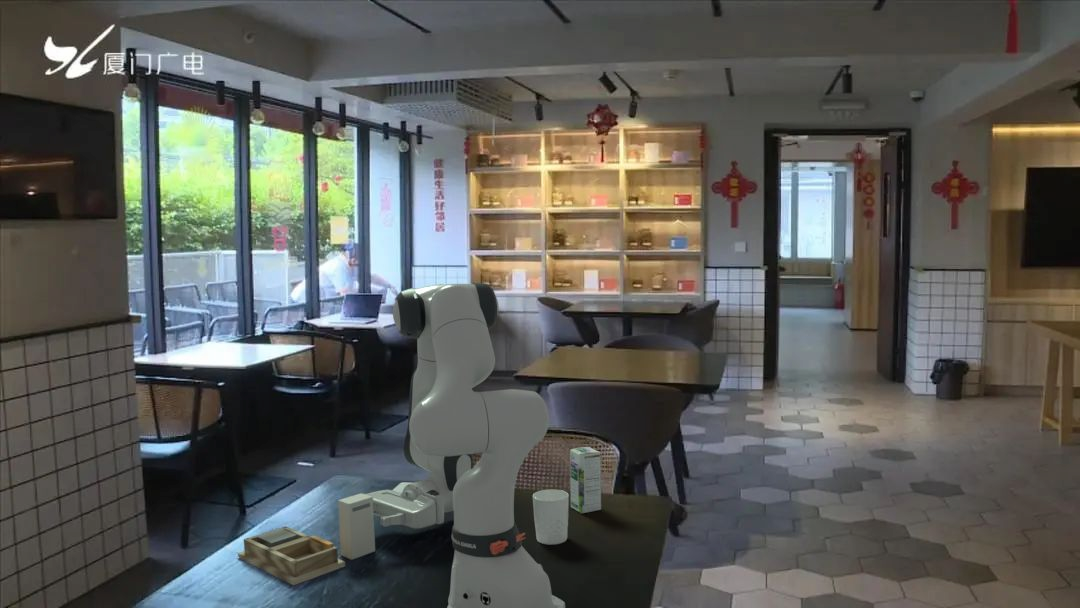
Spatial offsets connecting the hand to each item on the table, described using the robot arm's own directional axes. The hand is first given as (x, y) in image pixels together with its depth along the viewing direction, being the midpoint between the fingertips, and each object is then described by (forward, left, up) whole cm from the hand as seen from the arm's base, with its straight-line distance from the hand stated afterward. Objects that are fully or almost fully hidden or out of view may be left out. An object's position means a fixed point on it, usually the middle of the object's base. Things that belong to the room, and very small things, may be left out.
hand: (368, 517), depth 186 cm
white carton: (0, +3, -7) cm, 8 cm away
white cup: (-27, -29, -7) cm, 40 cm away
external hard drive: (+24, -29, -8) cm, 38 cm away
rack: (+7, +15, -7) cm, 18 cm away
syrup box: (-20, -49, -7) cm, 53 cm away
